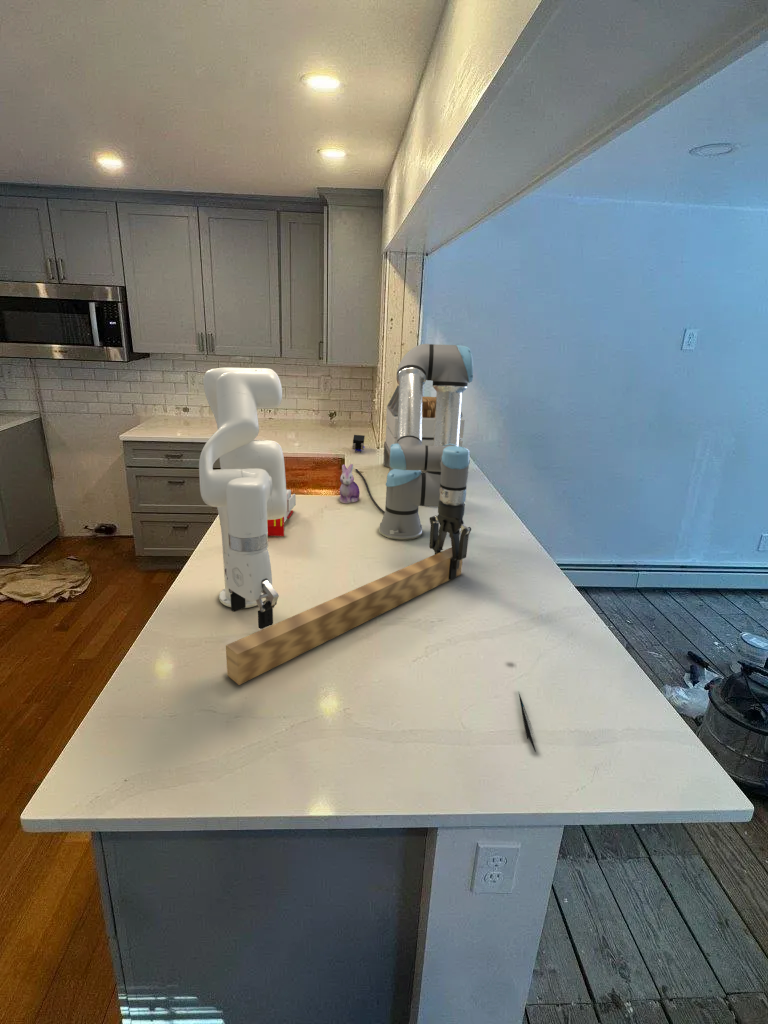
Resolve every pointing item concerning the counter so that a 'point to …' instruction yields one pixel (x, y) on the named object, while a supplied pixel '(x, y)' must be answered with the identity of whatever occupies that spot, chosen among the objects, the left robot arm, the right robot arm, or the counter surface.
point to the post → (333, 617)
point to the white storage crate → (427, 424)
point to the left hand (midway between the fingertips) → (251, 617)
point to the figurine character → (358, 442)
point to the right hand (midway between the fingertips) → (445, 575)
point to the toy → (277, 525)
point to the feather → (526, 723)
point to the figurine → (348, 486)
